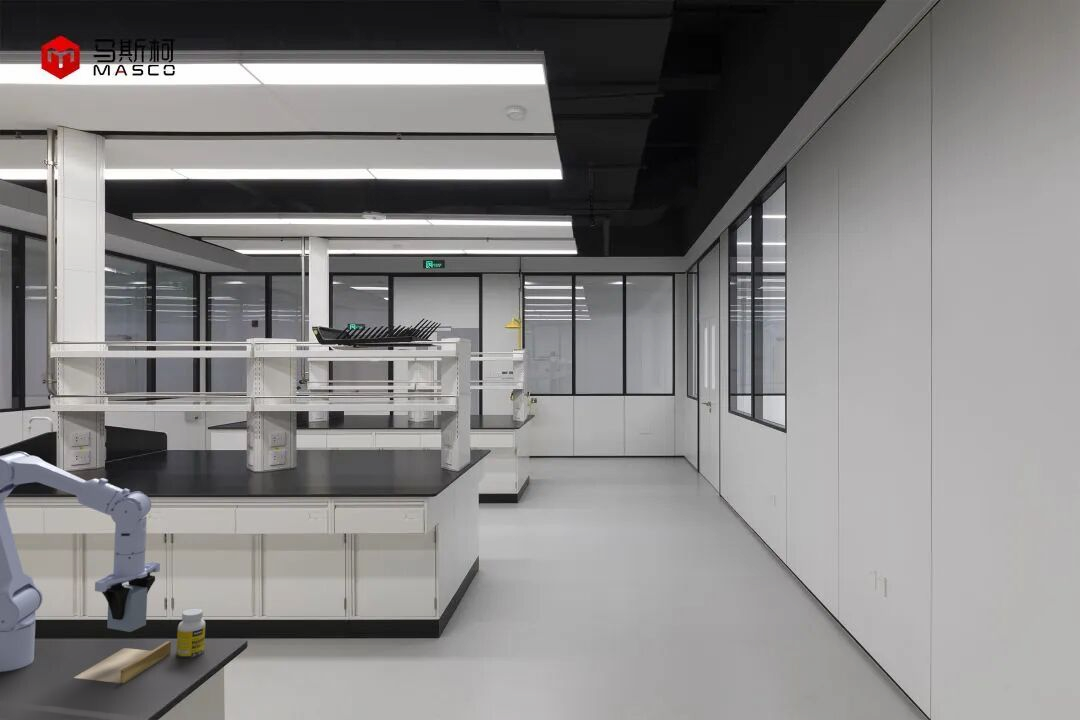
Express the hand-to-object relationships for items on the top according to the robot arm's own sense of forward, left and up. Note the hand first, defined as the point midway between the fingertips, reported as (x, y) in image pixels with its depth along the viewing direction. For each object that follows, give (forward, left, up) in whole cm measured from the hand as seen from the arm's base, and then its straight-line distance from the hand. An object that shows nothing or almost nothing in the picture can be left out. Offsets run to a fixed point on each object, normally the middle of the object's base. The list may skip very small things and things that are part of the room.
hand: (127, 614), depth 143 cm
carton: (0, 0, -2) cm, 2 cm away
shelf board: (+2, -3, -10) cm, 11 cm away
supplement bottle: (+11, +5, -10) cm, 16 cm away
